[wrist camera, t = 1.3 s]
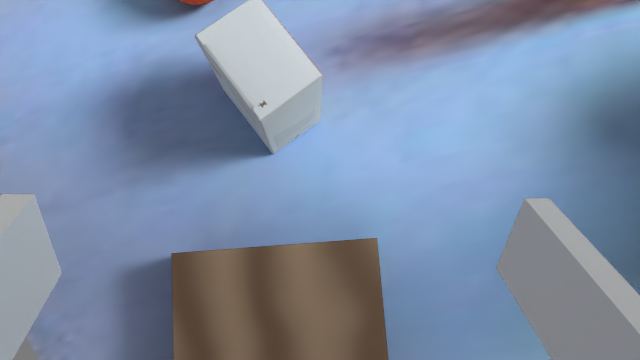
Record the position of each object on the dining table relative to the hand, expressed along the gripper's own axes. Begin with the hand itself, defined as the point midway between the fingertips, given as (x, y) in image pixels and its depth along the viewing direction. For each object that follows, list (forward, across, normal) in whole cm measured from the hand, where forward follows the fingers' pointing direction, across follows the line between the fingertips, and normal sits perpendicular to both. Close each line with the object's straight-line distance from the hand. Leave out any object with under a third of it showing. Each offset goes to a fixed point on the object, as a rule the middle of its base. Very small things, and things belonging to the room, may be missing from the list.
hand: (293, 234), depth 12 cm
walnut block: (+14, +1, -24) cm, 28 cm away
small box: (+28, -1, -8) cm, 30 cm away
